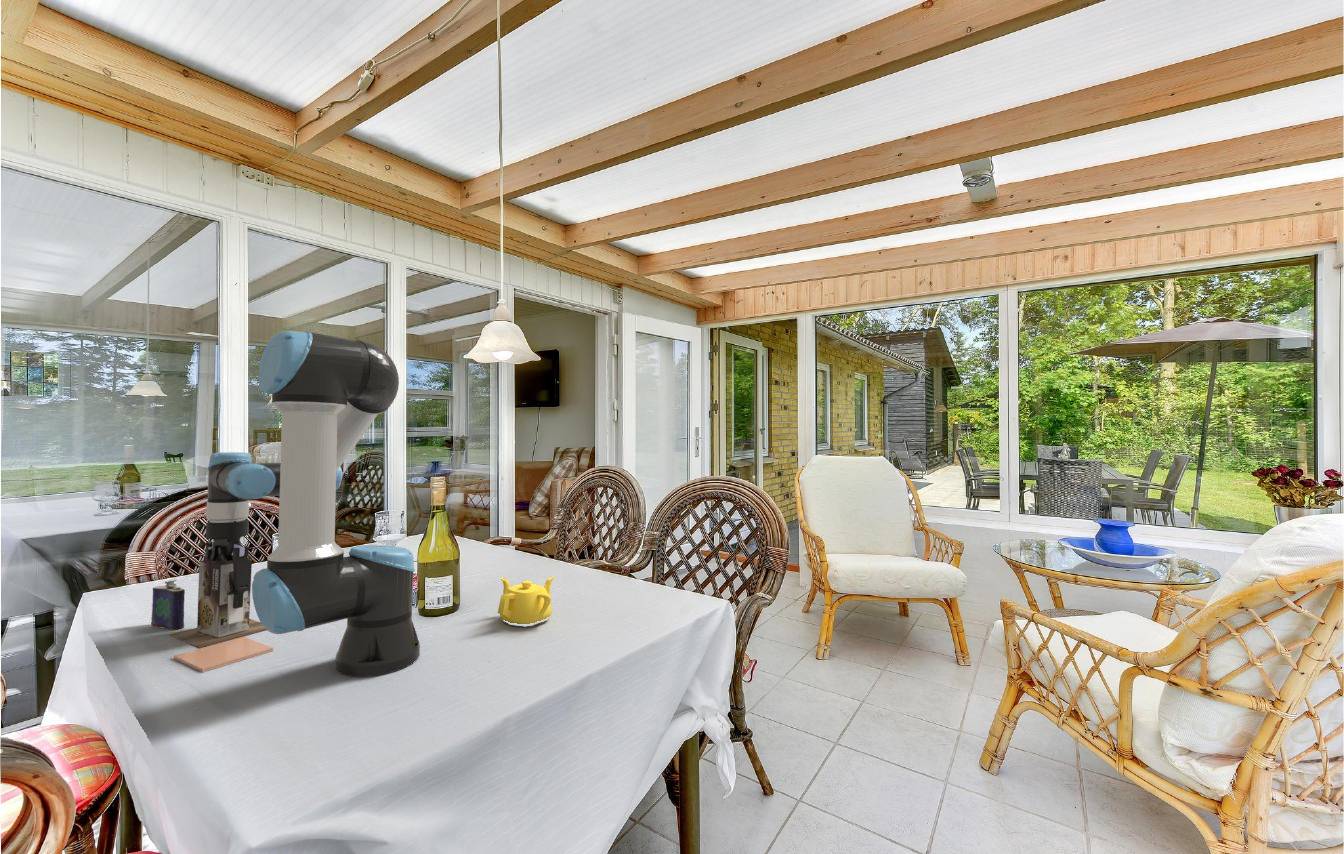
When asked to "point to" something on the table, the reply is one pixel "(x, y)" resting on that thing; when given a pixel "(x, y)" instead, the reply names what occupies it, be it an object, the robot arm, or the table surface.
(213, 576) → the printed cardboard box
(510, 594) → the teapot
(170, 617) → the flask
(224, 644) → the pad
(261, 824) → the table surface
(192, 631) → the mat
